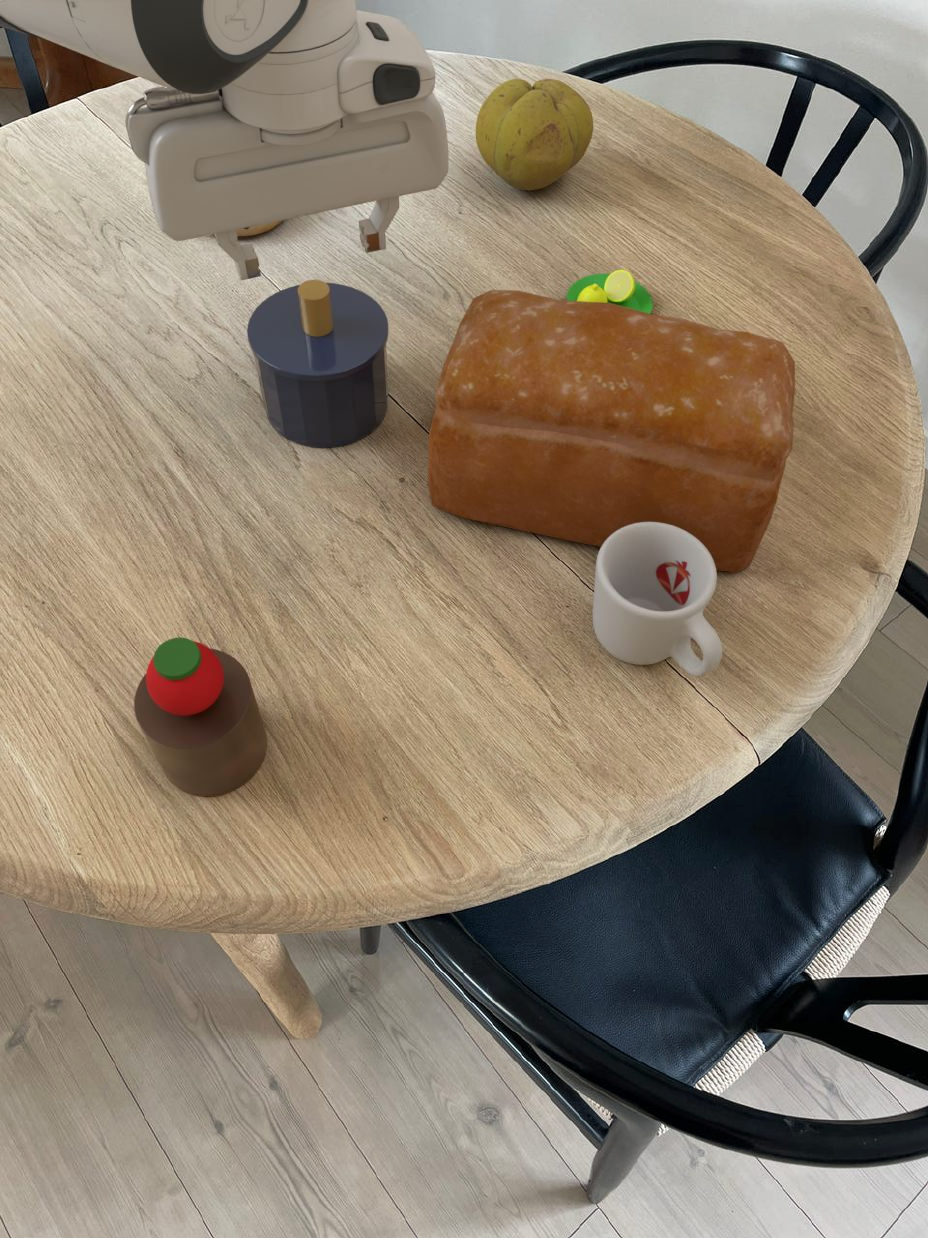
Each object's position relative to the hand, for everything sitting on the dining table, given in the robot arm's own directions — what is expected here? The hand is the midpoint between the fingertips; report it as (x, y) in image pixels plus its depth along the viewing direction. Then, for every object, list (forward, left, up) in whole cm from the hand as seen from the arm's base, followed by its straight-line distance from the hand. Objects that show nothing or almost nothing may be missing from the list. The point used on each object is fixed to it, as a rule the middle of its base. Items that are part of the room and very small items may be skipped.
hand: (311, 259), depth 71 cm
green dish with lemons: (+28, +3, -14) cm, 32 cm away
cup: (+14, -32, -14) cm, 37 cm away
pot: (0, 0, -14) cm, 14 cm away
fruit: (+29, +24, -14) cm, 41 cm away
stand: (-17, -29, -14) cm, 36 cm away
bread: (+17, -17, -14) cm, 28 cm away
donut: (-1, +29, -14) cm, 33 cm away
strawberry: (-17, -29, -7) cm, 34 cm away
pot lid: (0, 0, -7) cm, 7 cm away
